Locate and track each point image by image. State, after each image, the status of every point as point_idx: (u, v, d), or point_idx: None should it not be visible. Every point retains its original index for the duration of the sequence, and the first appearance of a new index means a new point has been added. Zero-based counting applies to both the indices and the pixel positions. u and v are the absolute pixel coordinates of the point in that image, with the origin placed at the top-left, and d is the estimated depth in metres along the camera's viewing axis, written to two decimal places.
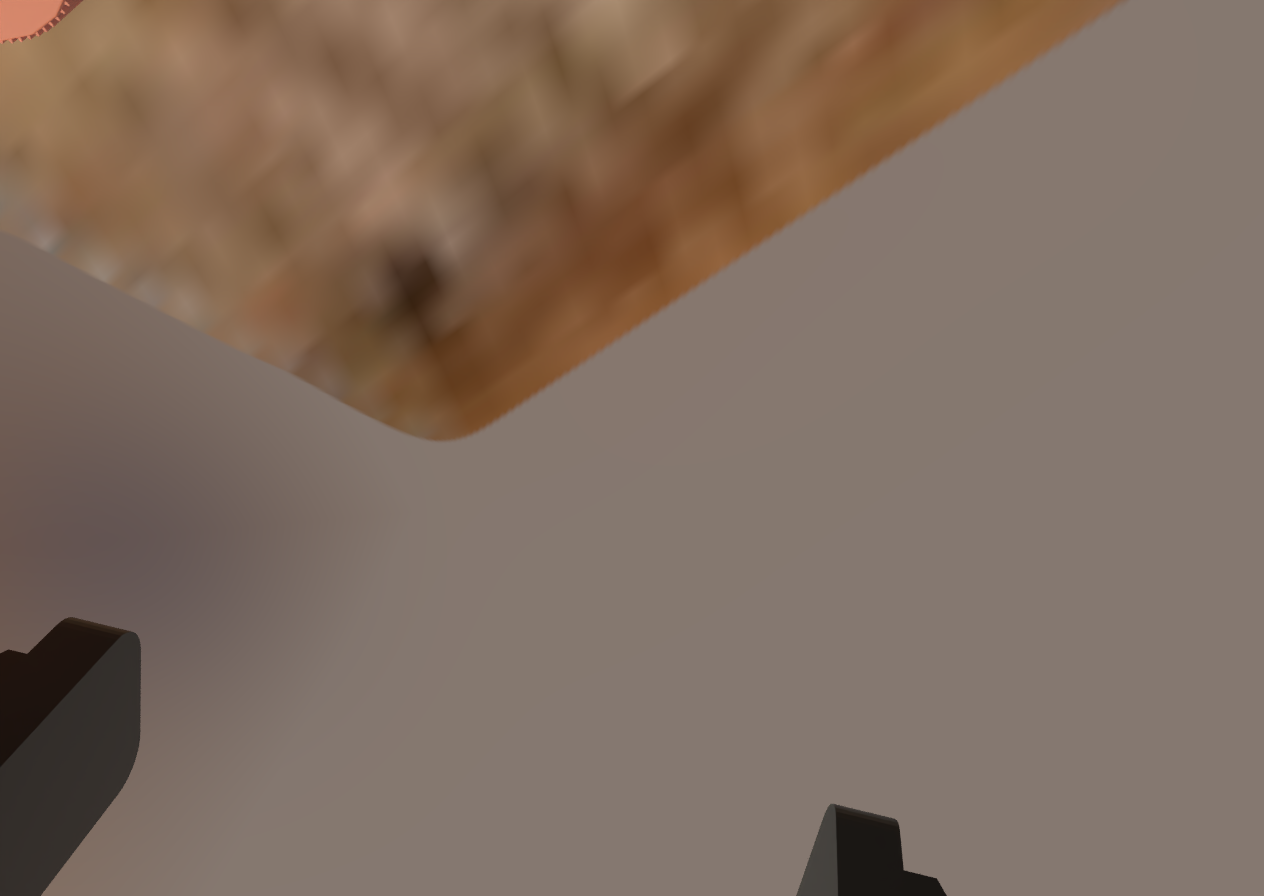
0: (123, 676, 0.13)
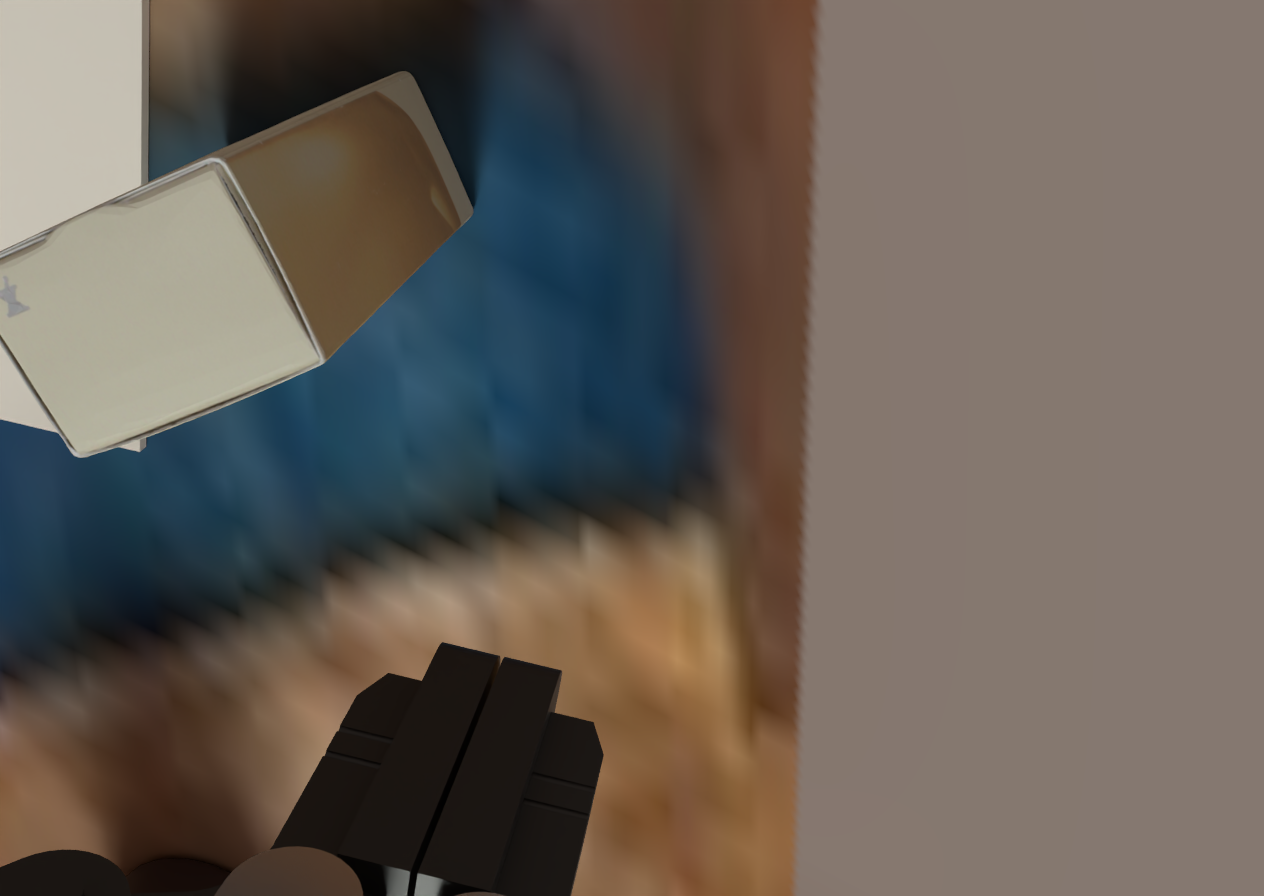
0: None
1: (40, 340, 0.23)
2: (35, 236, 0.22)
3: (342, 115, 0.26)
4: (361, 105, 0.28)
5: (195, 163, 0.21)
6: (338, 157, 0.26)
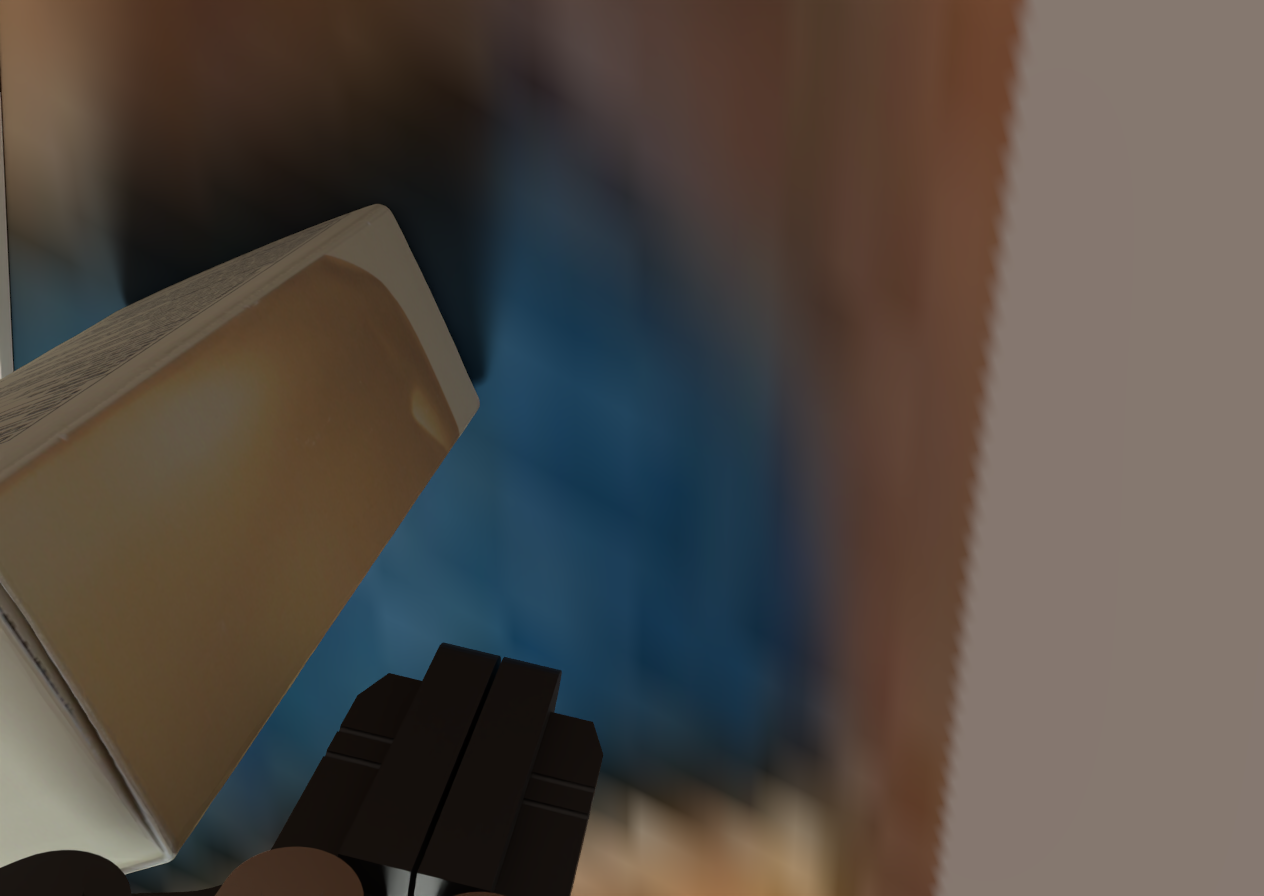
0: None
1: None
2: None
3: (255, 321, 0.16)
4: (296, 289, 0.17)
5: None
6: (240, 404, 0.15)
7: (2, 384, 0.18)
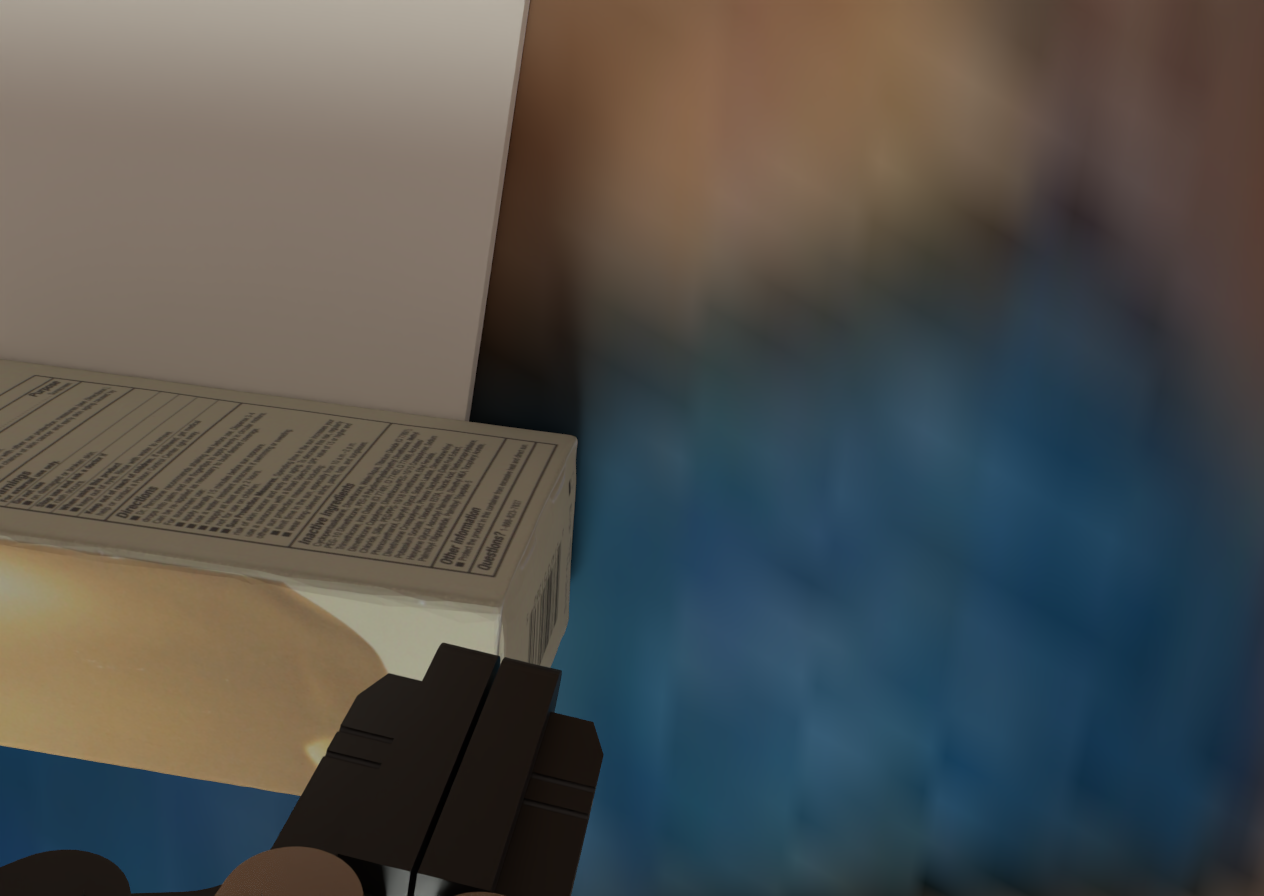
0: None
1: None
2: None
3: (96, 565, 0.17)
4: (191, 578, 0.17)
5: None
6: (21, 596, 0.18)
7: (288, 422, 0.21)
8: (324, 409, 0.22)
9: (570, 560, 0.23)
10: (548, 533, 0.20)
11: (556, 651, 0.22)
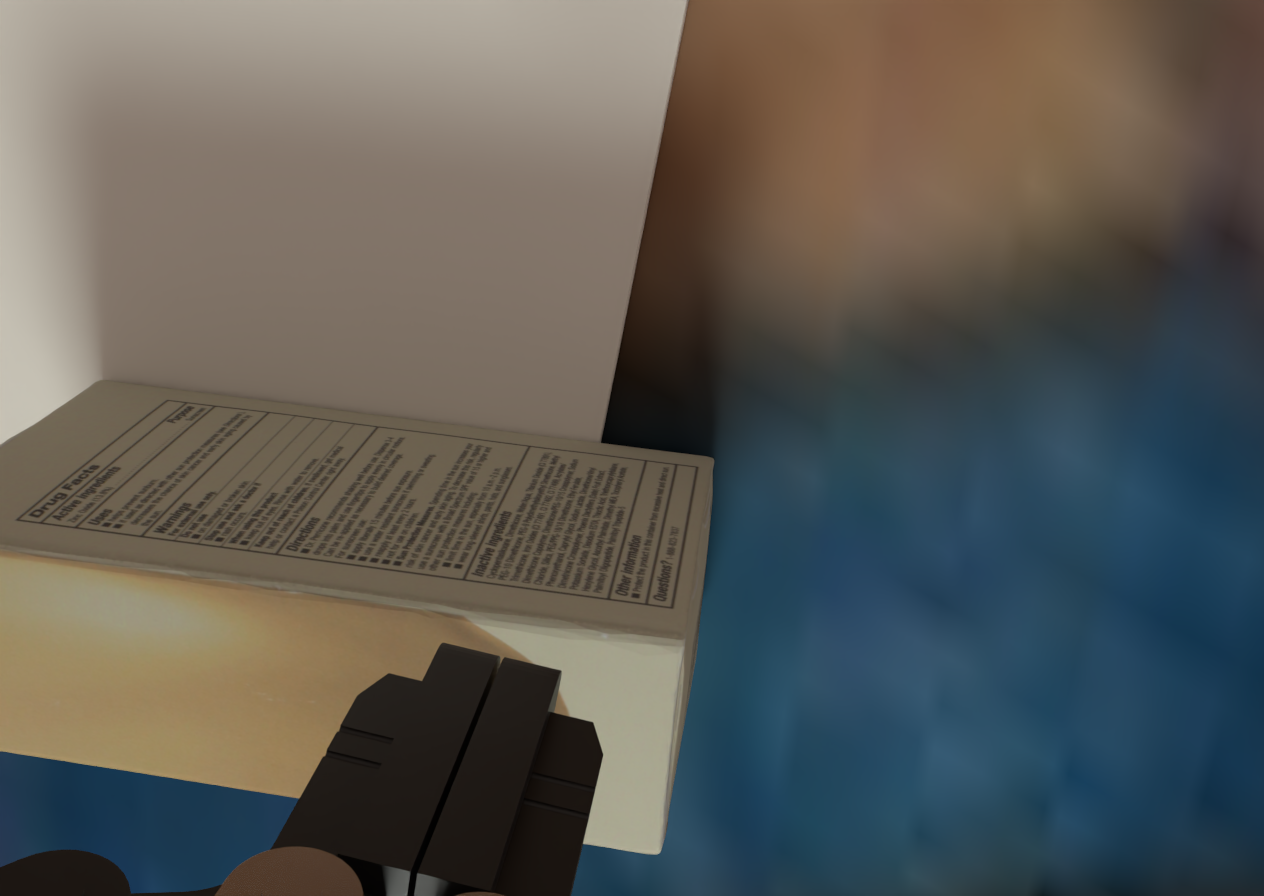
0: None
1: None
2: (44, 417, 0.21)
3: (272, 600, 0.17)
4: (369, 612, 0.17)
5: None
6: (194, 630, 0.18)
7: (429, 446, 0.21)
8: (460, 432, 0.22)
9: None
10: (703, 559, 0.20)
11: None
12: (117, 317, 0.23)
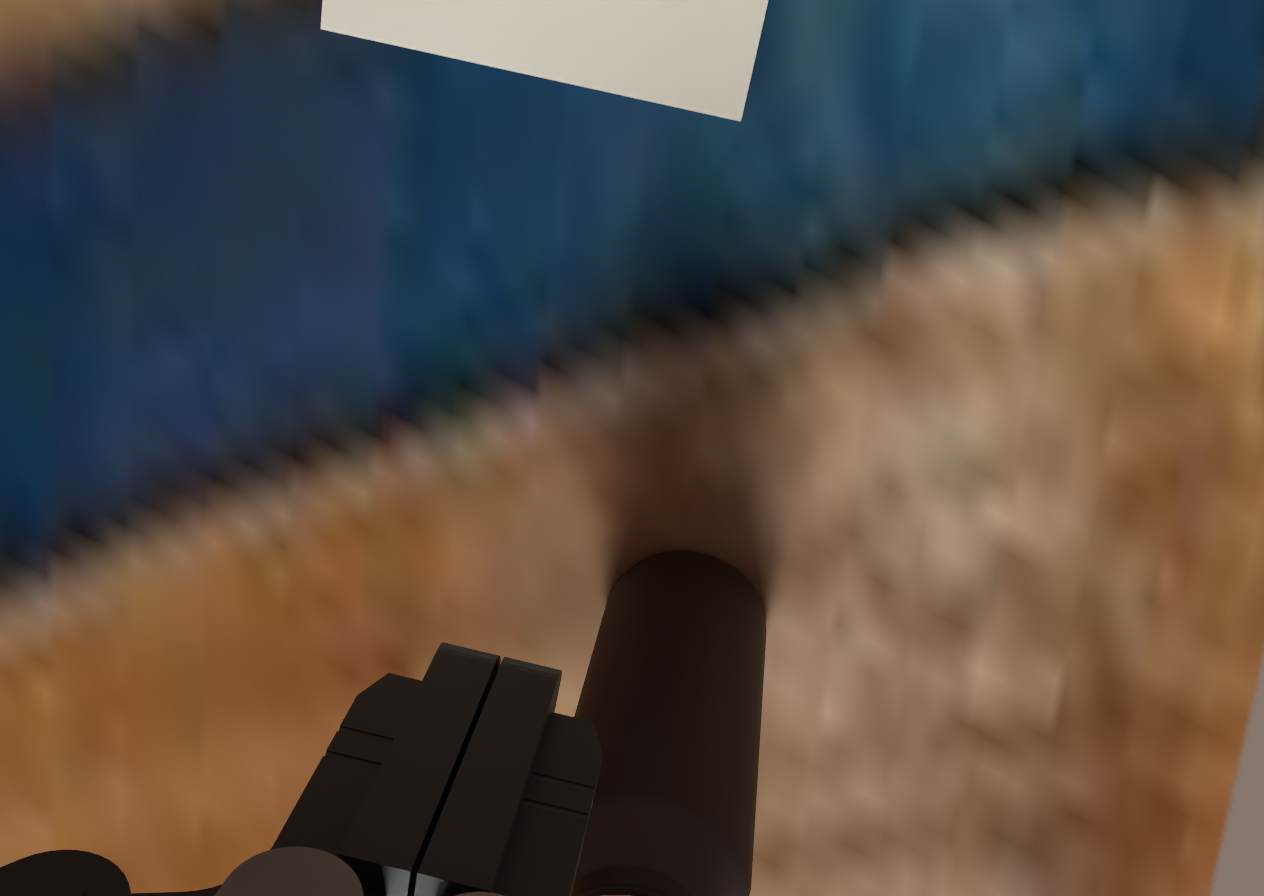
0: None
1: None
2: None
3: None
4: None
5: None
6: None
7: None
8: None
9: None
10: None
11: None
12: None
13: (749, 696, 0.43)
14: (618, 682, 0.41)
